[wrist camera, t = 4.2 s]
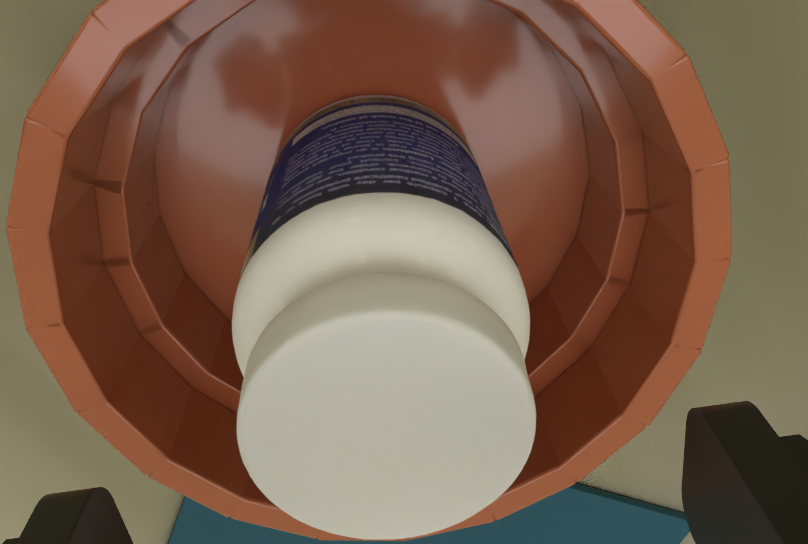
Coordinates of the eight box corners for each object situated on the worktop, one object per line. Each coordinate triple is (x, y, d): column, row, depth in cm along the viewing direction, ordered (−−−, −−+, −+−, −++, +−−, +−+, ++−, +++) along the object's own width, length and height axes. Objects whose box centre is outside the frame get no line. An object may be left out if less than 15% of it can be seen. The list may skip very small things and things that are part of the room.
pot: (59, 316, 22) (-37, 456, 16) (182, -225, 16) (92, -279, 10) (494, 442, 25) (531, 591, 20) (737, 36, 19) (884, 97, 14)
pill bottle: (232, 138, 19) (123, 360, 10) (436, 54, 18) (510, 215, 9) (323, 311, 21) (300, 605, 13) (505, 243, 21) (613, 506, 12)
